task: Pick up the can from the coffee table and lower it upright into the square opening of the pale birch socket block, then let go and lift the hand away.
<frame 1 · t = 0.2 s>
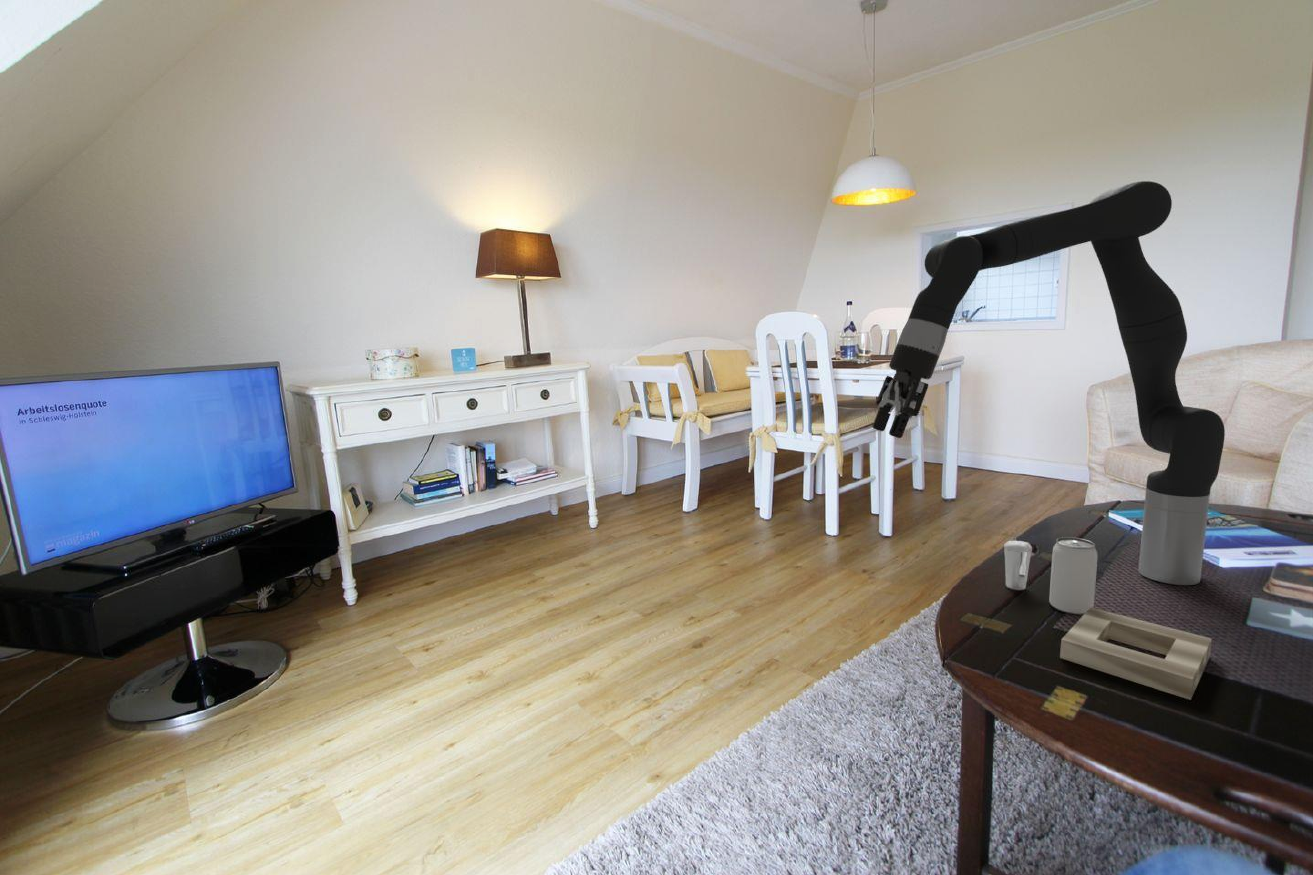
hand: (885, 433, 112), 31 cm above the table, tool tilted 20°, fingers open, 8 cm apart
milkshake: (1015, 586, 117), on the table
can: (1070, 608, 107), on the table
socket block: (1134, 657, 90), on the table
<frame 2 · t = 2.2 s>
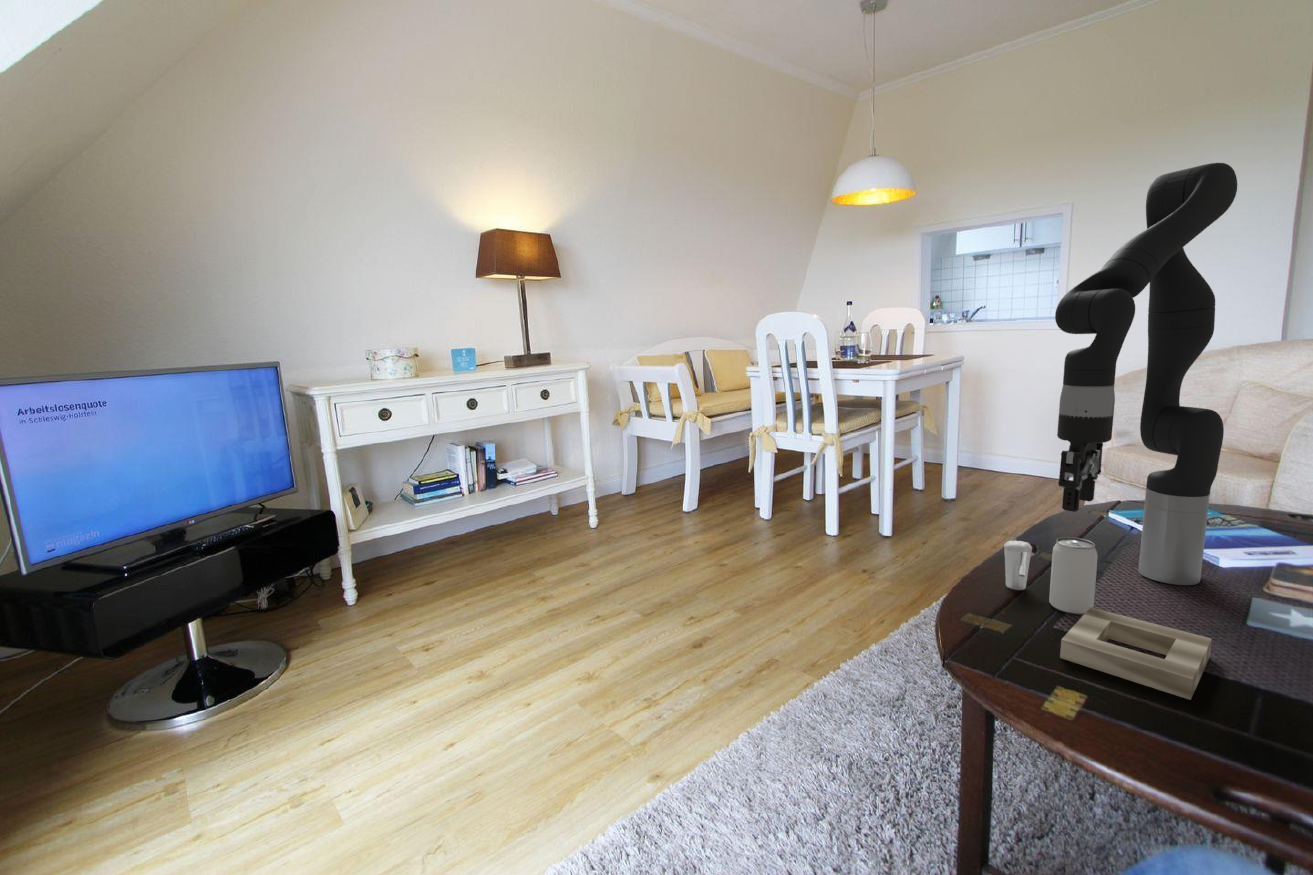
hand: (1078, 505, 104), 19 cm above the table, tool pointing down, fingers open, 8 cm apart
nothing on the table moved.
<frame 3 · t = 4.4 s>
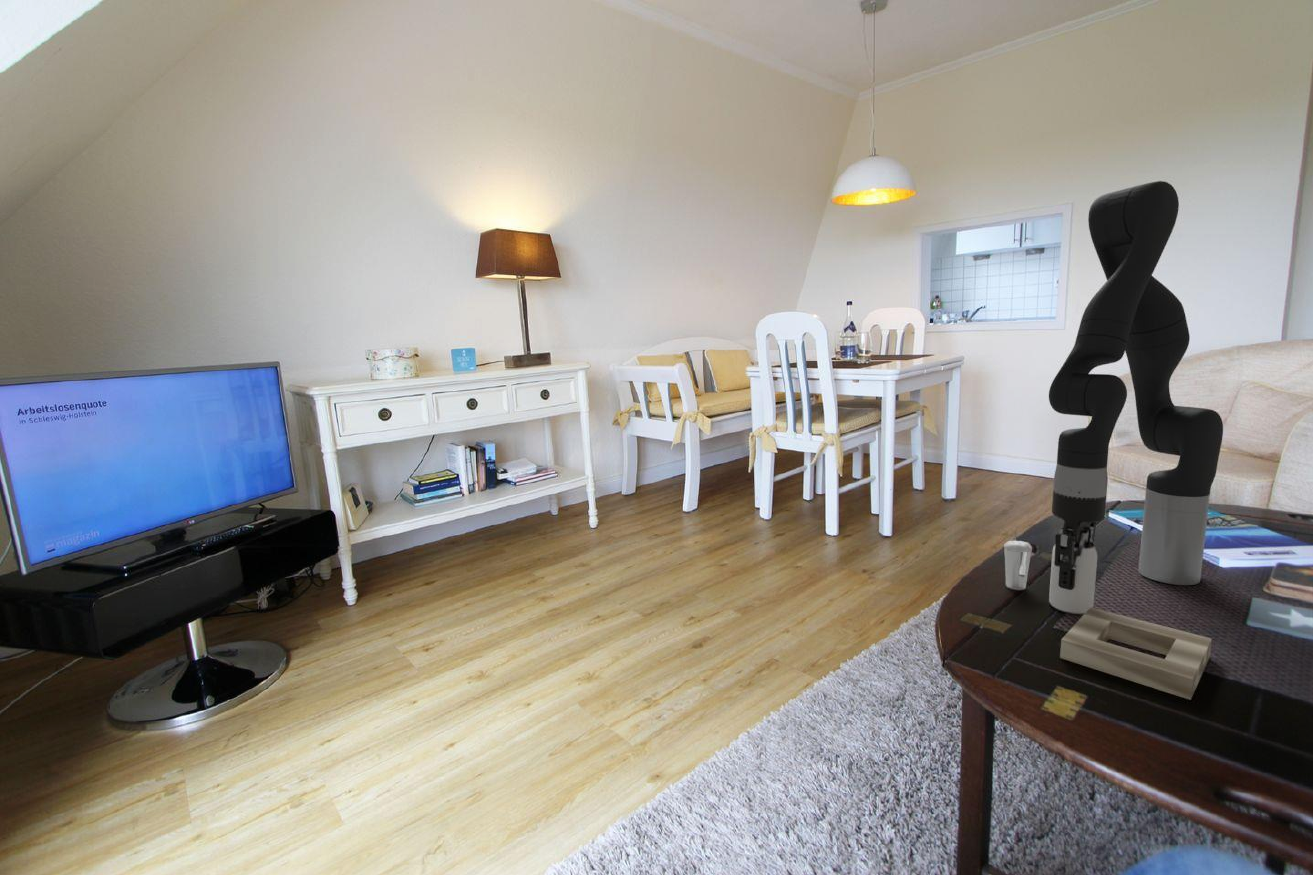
hand: (1072, 581, 106), 5 cm above the table, tool pointing down, fingers closed on can, 6 cm apart
can: (1070, 607, 107), on the table, touching gripper
everything else where it was.
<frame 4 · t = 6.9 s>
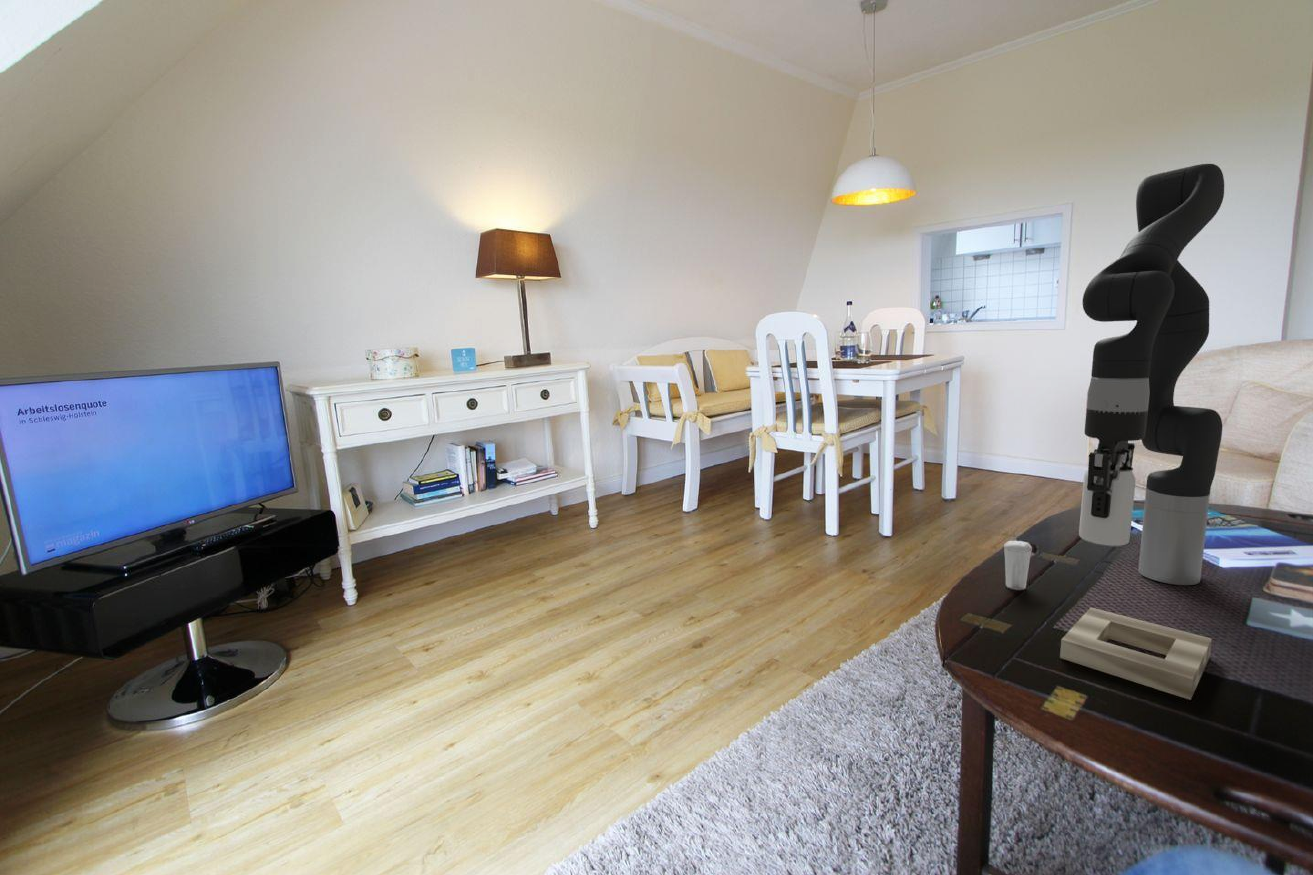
hand: (1106, 512, 95), 20 cm above the table, tool pointing down, fingers closed on can, 6 cm apart
can: (1103, 541, 96), point 15 cm above the table, touching gripper
everything else where it was.
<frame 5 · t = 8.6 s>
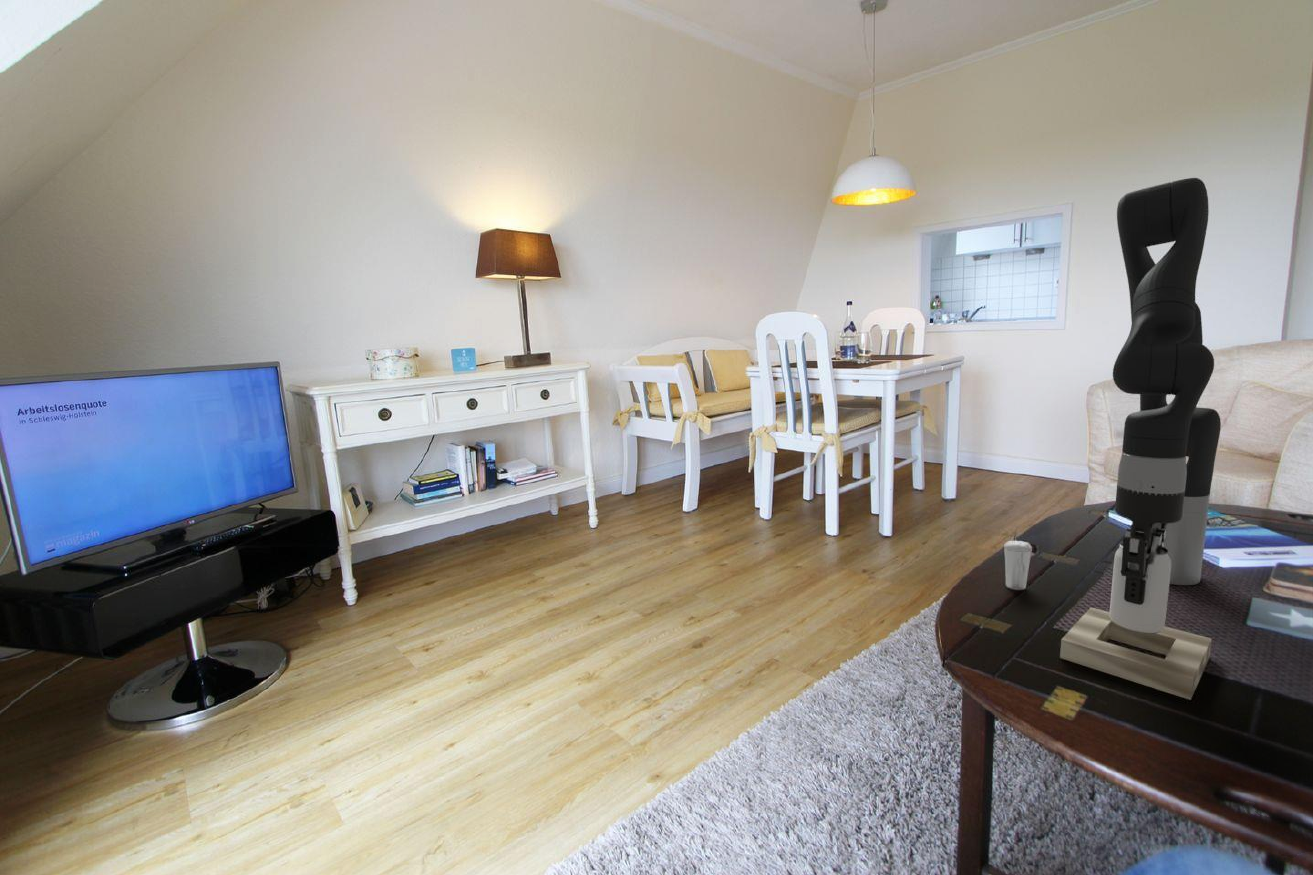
hand: (1139, 594, 89), 10 cm above the table, tool pointing down, fingers closed on can, 6 cm apart
can: (1135, 625, 90), point 5 cm above the table, touching gripper
everything else where it was.
when the fingers open (6 cm above the table, at t = 9.9 s): can drops 1 cm, resting in socket block.
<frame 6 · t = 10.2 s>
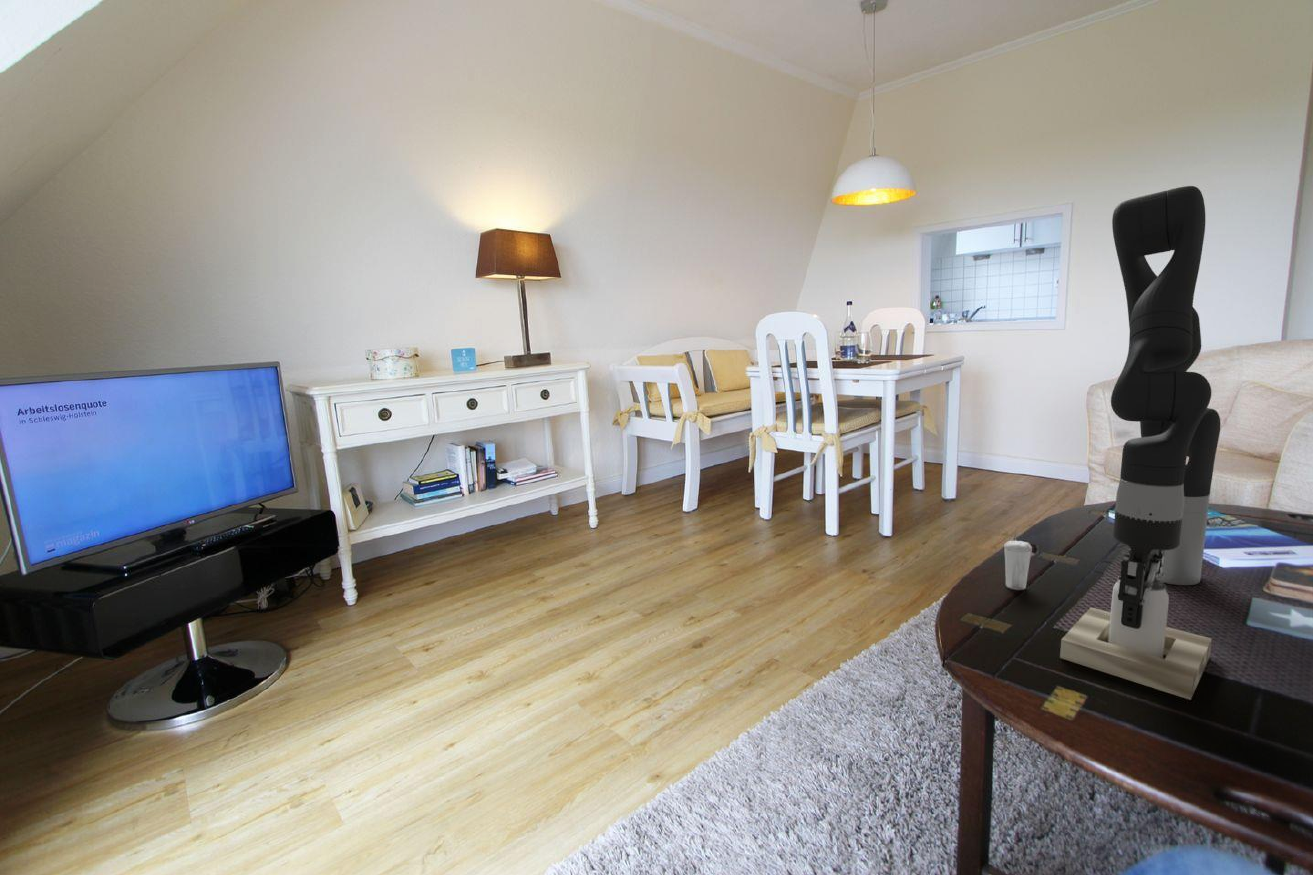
hand: (1138, 616, 89), 7 cm above the table, tool pointing down, fingers open, 8 cm apart
can: (1134, 658, 91), resting in socket block
everything else where it was.
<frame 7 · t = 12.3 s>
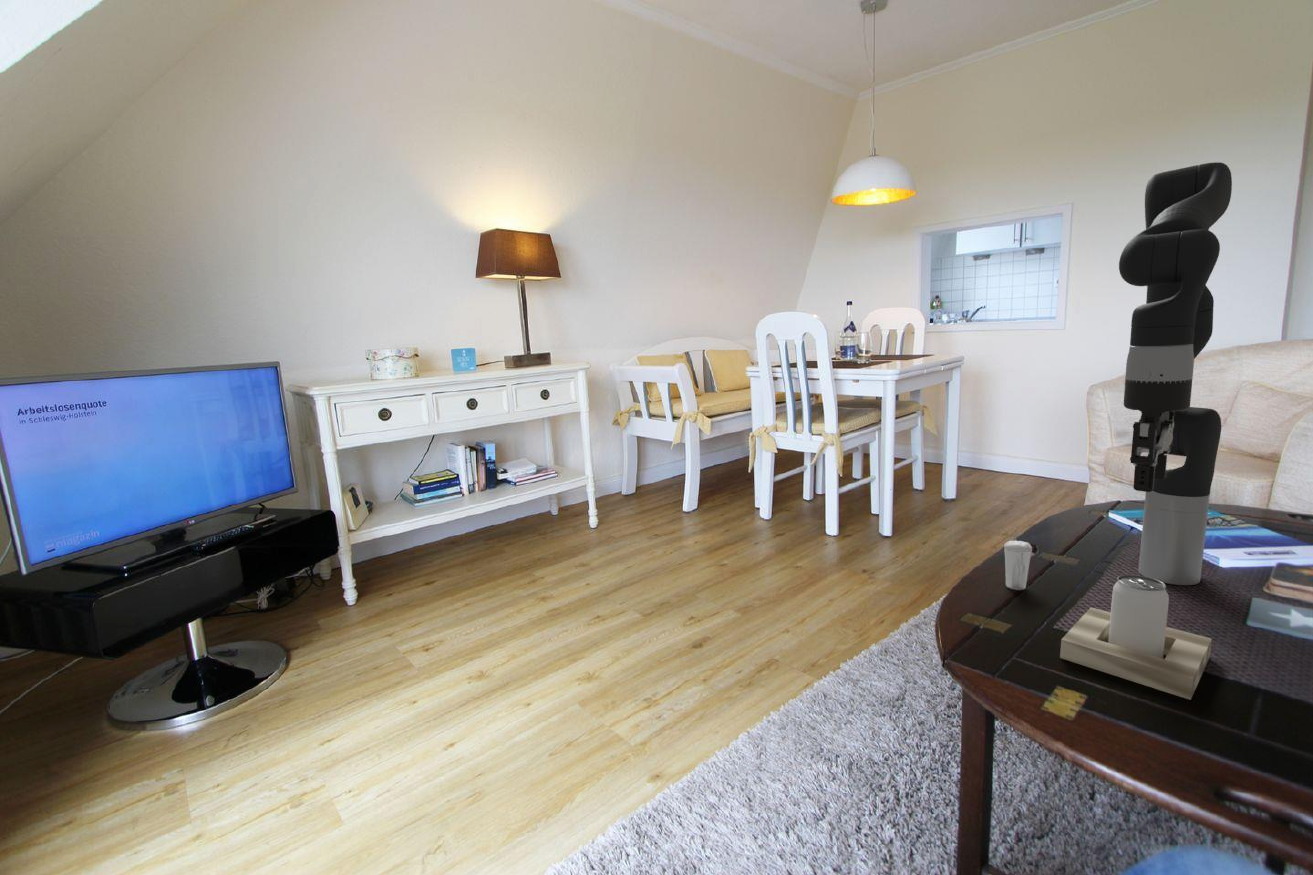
hand: (1149, 484, 90), 26 cm above the table, tool pointing down, fingers open, 8 cm apart
nothing on the table moved.
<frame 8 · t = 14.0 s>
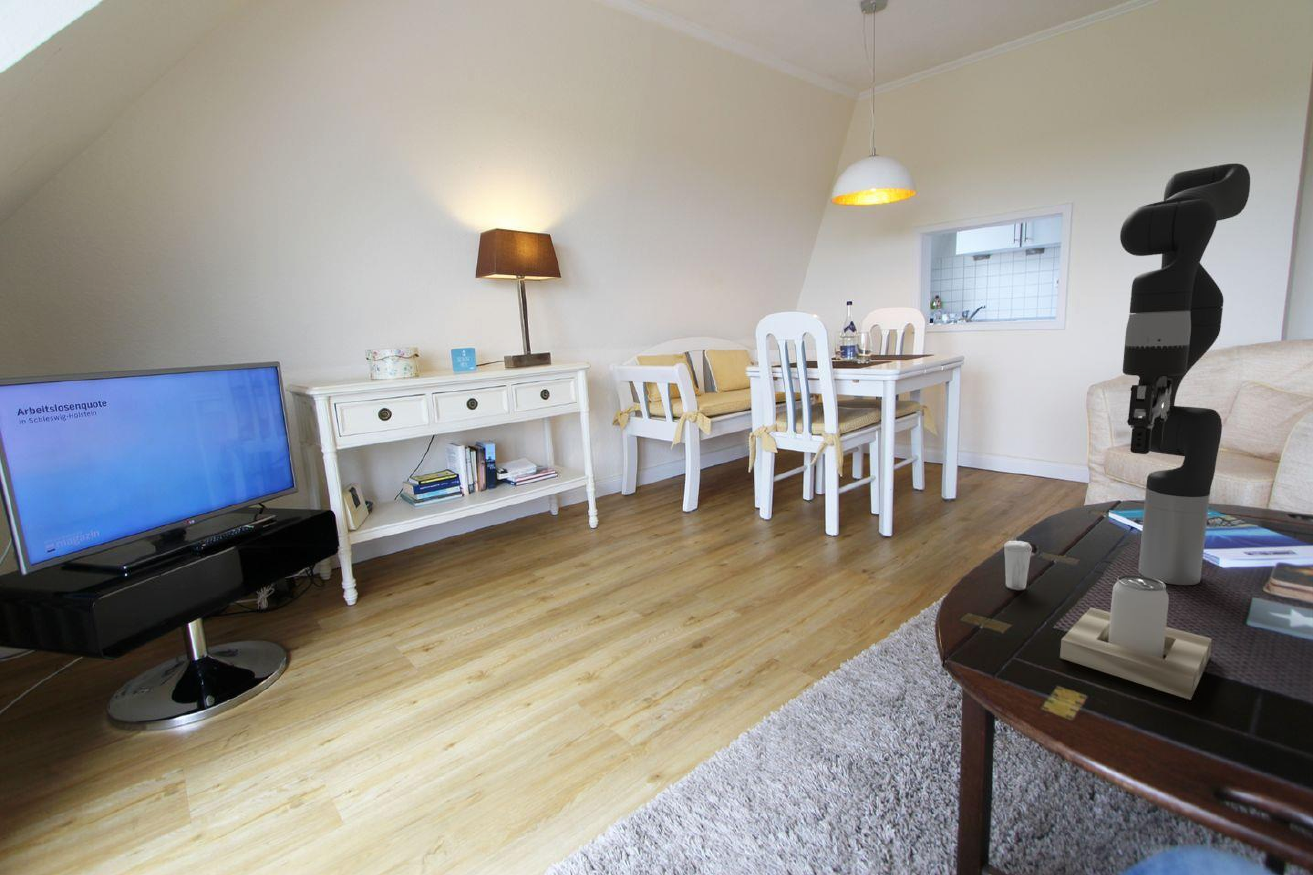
hand: (1146, 448, 93), 30 cm above the table, tool pointing down, fingers open, 8 cm apart
nothing on the table moved.
at the end: can 0.1 cm off-centre on the socket block, point 0.0 cm above the socket block's base; can tilted 0°; the gripper is holding nothing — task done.
